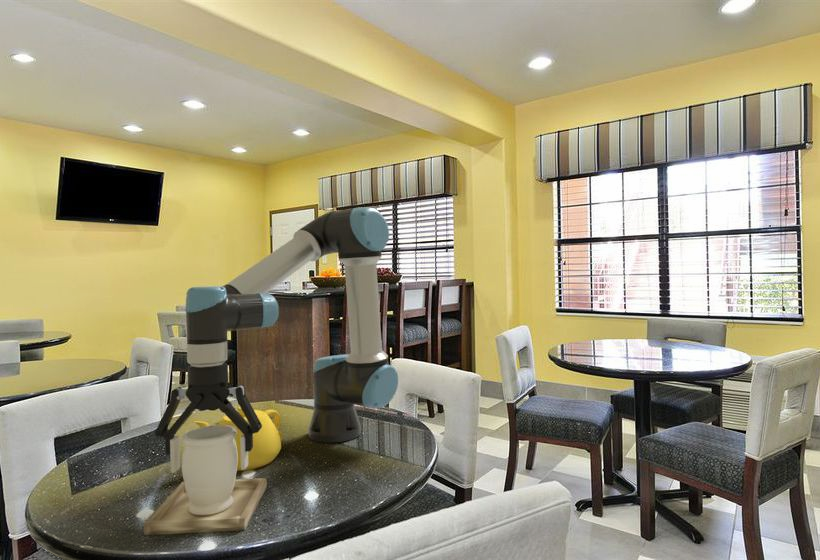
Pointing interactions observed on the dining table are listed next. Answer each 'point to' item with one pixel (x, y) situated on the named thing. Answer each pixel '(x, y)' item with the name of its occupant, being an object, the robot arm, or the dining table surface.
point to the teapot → (257, 438)
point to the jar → (209, 468)
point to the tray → (179, 519)
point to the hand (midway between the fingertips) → (210, 468)
